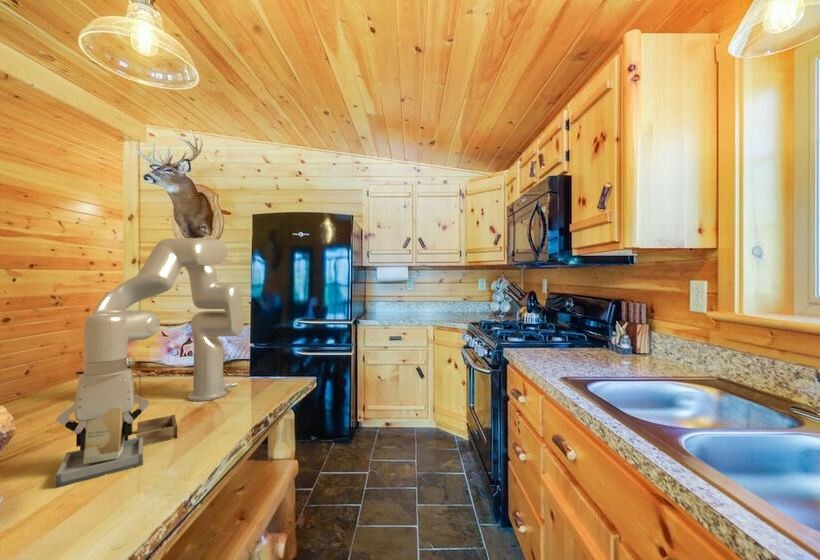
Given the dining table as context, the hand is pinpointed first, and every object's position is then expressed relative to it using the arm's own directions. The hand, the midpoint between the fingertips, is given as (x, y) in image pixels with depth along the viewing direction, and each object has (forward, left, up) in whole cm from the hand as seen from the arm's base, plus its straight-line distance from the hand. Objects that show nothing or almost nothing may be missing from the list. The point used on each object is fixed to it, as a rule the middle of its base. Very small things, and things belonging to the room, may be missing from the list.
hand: (105, 442), depth 78 cm
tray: (0, 0, -5) cm, 5 cm away
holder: (-10, -11, -5) cm, 15 cm away
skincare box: (0, 0, -4) cm, 4 cm away
